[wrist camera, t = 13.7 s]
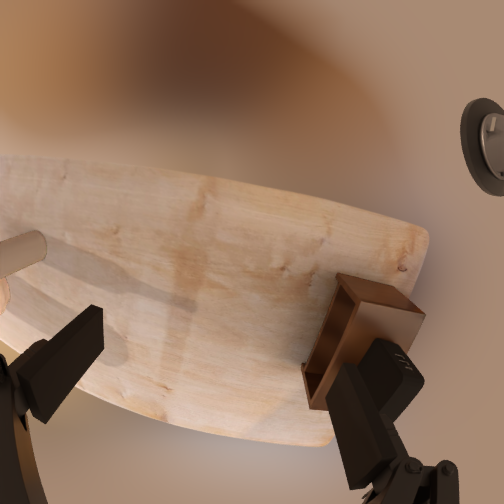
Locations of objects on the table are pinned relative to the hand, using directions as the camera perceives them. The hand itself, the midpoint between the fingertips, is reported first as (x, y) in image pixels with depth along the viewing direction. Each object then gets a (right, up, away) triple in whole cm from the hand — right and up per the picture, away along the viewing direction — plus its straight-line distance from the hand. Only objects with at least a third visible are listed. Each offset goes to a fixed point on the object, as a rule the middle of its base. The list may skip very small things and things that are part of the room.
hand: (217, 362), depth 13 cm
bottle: (-44, +7, +32) cm, 55 cm away
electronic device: (+19, -11, +23) cm, 32 cm away
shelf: (+19, -9, +34) cm, 40 cm away
